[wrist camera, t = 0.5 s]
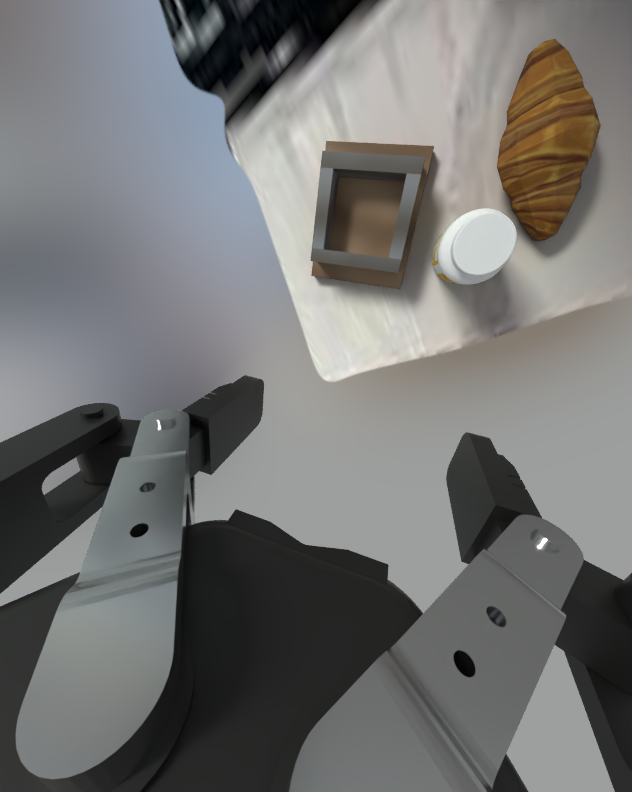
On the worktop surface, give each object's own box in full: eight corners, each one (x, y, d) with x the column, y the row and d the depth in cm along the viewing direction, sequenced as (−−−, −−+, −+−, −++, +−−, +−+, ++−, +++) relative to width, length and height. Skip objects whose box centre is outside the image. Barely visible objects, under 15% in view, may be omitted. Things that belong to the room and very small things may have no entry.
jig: (328, 145, 28) (319, 129, 25) (433, 150, 26) (436, 133, 23) (313, 275, 33) (304, 275, 30) (399, 288, 31) (399, 290, 28)
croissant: (483, 82, 23) (501, 37, 19) (585, 30, 21) (634, -35, 16) (495, 254, 27) (513, 250, 23) (582, 228, 25) (620, 218, 21)
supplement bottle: (499, 263, 27) (542, 257, 19) (444, 293, 30) (460, 300, 21) (477, 210, 26) (513, 178, 18) (422, 245, 29) (429, 233, 20)
